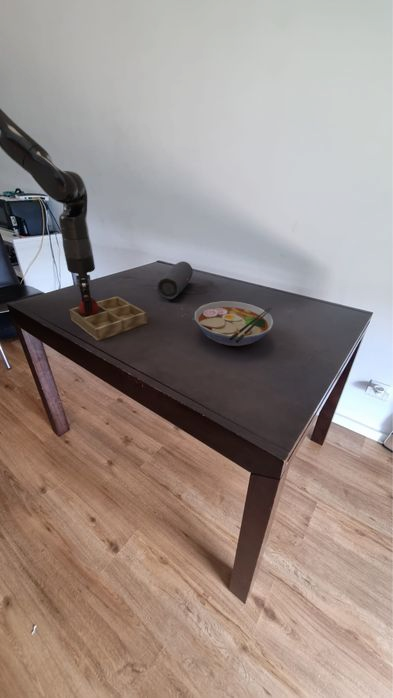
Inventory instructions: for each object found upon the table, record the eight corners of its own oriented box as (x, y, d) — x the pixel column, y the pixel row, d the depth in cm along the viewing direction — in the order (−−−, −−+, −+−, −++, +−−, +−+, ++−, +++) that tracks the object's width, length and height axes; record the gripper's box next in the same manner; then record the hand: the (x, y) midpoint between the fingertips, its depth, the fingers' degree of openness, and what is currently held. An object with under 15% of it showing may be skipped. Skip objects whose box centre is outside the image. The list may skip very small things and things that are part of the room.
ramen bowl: (219, 314, 100) (221, 292, 96) (281, 334, 89) (287, 310, 85) (175, 343, 82) (175, 317, 78) (245, 372, 72) (250, 345, 67)
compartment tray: (97, 341, 82) (95, 329, 80) (71, 320, 92) (69, 309, 90) (147, 323, 92) (146, 312, 90) (118, 306, 102) (117, 296, 100)
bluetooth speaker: (180, 304, 106) (180, 278, 100) (156, 301, 107) (155, 275, 102) (193, 284, 125) (194, 261, 119) (173, 281, 126) (173, 258, 121)
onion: (98, 313, 95) (94, 290, 90) (101, 320, 90) (97, 296, 86) (79, 315, 92) (75, 292, 88) (82, 323, 88) (77, 299, 84)
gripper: (65, 248, 85) (75, 300, 94) (64, 261, 74) (76, 319, 83) (91, 247, 87) (99, 298, 96) (94, 259, 76) (103, 316, 85)
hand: (88, 307), depth 89 cm, fingers closed on onion, 5 cm apart
